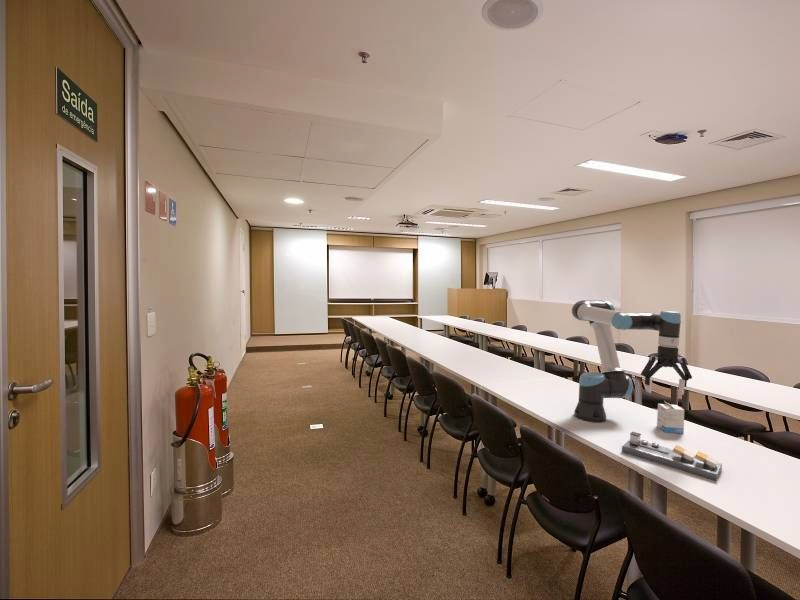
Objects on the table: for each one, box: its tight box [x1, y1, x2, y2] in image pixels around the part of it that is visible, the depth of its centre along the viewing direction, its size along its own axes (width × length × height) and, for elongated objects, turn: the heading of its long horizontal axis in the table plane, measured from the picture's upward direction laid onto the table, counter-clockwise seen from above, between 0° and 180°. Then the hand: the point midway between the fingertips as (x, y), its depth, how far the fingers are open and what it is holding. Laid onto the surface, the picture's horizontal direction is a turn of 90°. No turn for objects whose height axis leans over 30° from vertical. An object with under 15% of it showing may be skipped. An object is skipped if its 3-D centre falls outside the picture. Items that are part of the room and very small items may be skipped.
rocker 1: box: [672, 444, 696, 461], centre depth 151 cm, size 6×6×2 cm
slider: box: [629, 431, 642, 445], centre depth 163 cm, size 3×3×4 cm
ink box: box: [656, 400, 685, 434], centre depth 187 cm, size 9×8×13 cm
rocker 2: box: [695, 450, 719, 468], centre depth 146 cm, size 6×6×2 cm
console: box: [621, 439, 723, 482], centre depth 154 cm, size 31×13×4 cm, turn 43°
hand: (664, 393), depth 171 cm, fingers open, 13 cm apart
